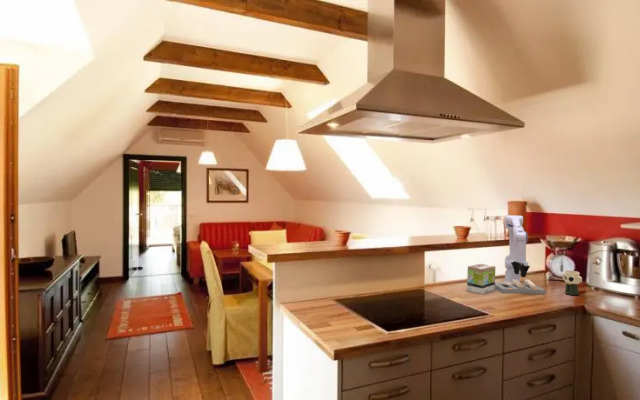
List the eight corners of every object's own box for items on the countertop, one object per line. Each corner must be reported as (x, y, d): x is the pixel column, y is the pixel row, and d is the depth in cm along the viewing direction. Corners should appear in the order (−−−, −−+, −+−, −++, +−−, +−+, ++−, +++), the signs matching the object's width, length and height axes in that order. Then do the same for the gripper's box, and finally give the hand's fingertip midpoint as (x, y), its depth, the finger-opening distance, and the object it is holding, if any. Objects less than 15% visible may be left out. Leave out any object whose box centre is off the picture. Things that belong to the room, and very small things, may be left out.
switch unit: (491, 286, 218) (492, 281, 217) (532, 287, 216) (532, 282, 216) (502, 293, 204) (502, 287, 203) (545, 294, 202) (545, 288, 202)
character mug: (557, 292, 206) (558, 270, 206) (566, 291, 208) (567, 269, 208) (576, 297, 196) (577, 274, 195) (585, 296, 198) (586, 273, 198)
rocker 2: (512, 281, 214) (512, 279, 213) (516, 281, 213) (517, 279, 213) (518, 287, 206) (518, 285, 206) (523, 287, 206) (523, 285, 205)
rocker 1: (500, 284, 214) (500, 281, 214) (505, 284, 214) (504, 281, 214) (506, 284, 206) (506, 282, 207) (511, 284, 206) (511, 282, 206)
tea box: (483, 294, 201) (483, 269, 200) (466, 291, 208) (466, 266, 208) (495, 290, 210) (495, 265, 210) (478, 286, 218) (479, 262, 217)
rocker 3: (524, 281, 213) (524, 279, 213) (528, 281, 213) (529, 279, 213) (531, 287, 205) (531, 285, 205) (536, 288, 205) (536, 285, 205)
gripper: (507, 250, 214) (507, 272, 215) (519, 254, 200) (519, 278, 200) (519, 250, 214) (519, 272, 214) (532, 254, 199) (531, 278, 200)
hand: (519, 275), depth 207 cm, fingers open, 7 cm apart
